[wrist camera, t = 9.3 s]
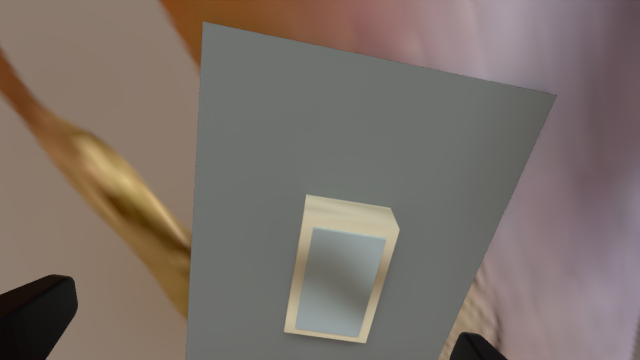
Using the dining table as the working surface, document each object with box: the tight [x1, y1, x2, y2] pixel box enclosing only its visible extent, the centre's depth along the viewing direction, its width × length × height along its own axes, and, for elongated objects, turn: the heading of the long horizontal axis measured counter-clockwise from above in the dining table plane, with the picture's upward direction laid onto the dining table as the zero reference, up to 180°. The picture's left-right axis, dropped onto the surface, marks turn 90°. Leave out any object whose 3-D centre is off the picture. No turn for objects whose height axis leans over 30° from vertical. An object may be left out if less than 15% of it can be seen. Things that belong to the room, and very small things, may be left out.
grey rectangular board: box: [186, 22, 557, 360], centre depth 20 cm, size 18×24×1 cm
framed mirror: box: [284, 194, 400, 343], centre depth 19 cm, size 8×5×3 cm, turn 170°
